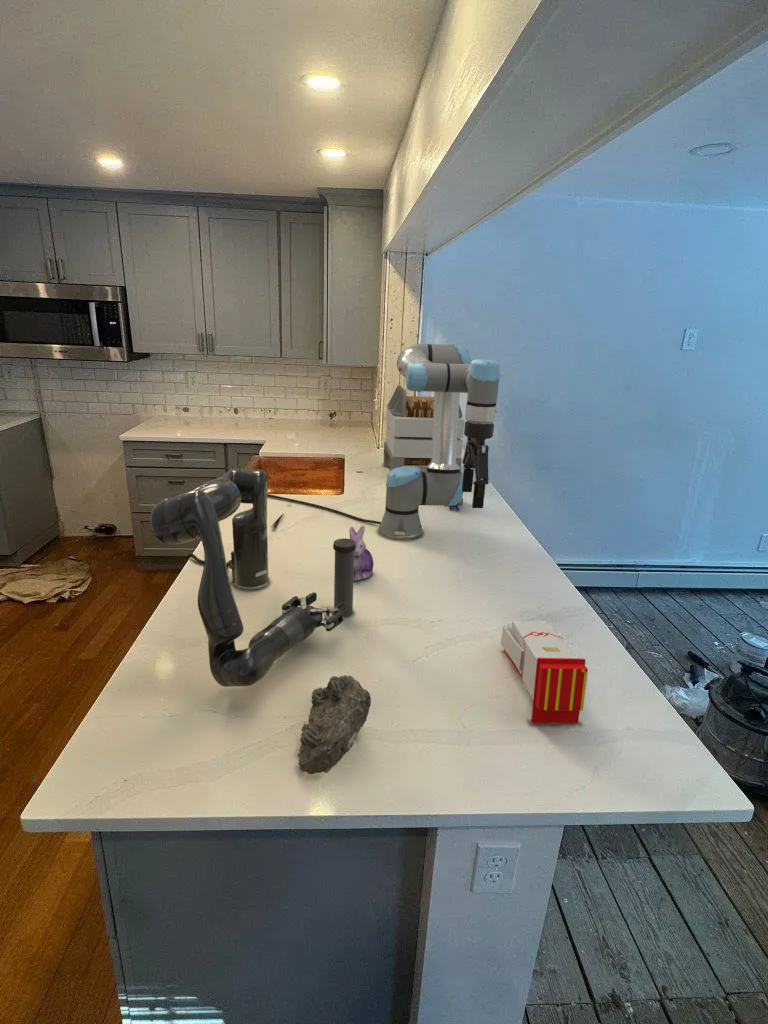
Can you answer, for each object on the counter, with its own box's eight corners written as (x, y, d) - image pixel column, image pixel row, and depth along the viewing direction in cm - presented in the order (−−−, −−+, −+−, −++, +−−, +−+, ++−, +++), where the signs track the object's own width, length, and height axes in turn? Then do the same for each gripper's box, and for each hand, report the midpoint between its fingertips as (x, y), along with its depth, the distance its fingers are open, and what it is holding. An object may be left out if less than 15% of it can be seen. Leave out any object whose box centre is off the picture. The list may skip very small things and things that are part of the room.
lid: (332, 552, 138) (332, 546, 138) (334, 543, 144) (334, 537, 143) (355, 553, 138) (355, 547, 138) (356, 544, 144) (356, 538, 143)
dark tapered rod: (290, 508, 223) (292, 504, 223) (272, 532, 197) (275, 527, 196) (286, 505, 223) (289, 501, 223) (268, 529, 197) (271, 525, 196)
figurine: (351, 584, 162) (352, 535, 157) (337, 569, 170) (338, 523, 165) (380, 578, 166) (383, 531, 161) (365, 564, 174) (367, 519, 169)
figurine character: (463, 515, 225) (458, 499, 238) (465, 497, 221) (460, 482, 235) (446, 514, 224) (442, 498, 238) (448, 497, 221) (444, 482, 235)
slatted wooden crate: (382, 463, 289) (386, 382, 275) (445, 464, 293) (451, 384, 279) (390, 482, 257) (394, 392, 243) (460, 483, 261) (468, 394, 247)
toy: (547, 606, 135) (596, 665, 106) (541, 658, 138) (589, 729, 108) (496, 604, 134) (532, 664, 105) (492, 657, 137) (526, 729, 108)
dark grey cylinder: (333, 616, 145) (334, 547, 138) (334, 607, 149) (335, 540, 143) (351, 617, 145) (353, 548, 138) (353, 608, 149) (354, 540, 143)
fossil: (305, 676, 114) (363, 644, 109) (335, 707, 117) (393, 676, 112) (276, 768, 94) (345, 733, 89) (313, 802, 97) (382, 770, 92)
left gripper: (315, 624, 122) (354, 594, 135) (263, 606, 128) (305, 579, 141) (315, 654, 124) (354, 621, 138) (264, 635, 130) (306, 605, 144)
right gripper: (507, 431, 135) (497, 515, 142) (482, 413, 159) (475, 486, 166) (476, 431, 135) (467, 514, 142) (456, 412, 158) (450, 485, 165)
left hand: (329, 600), depth 140 cm, fingers open, 8 cm apart
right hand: (471, 499), depth 154 cm, fingers open, 13 cm apart
